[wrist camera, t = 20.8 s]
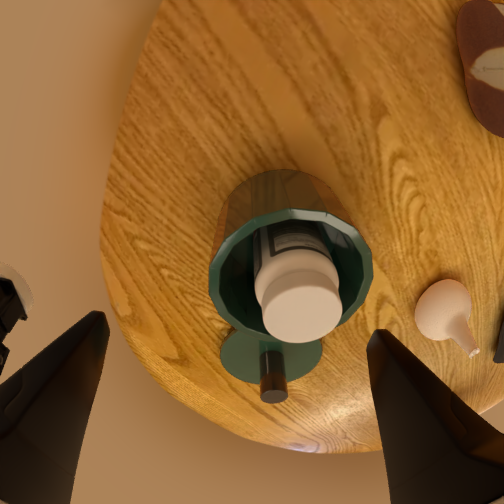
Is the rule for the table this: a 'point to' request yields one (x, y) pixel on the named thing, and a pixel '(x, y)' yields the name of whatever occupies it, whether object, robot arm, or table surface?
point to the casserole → (500, 348)
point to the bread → (483, 60)
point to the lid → (268, 362)
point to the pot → (269, 212)
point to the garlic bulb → (446, 314)
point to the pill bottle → (295, 281)
